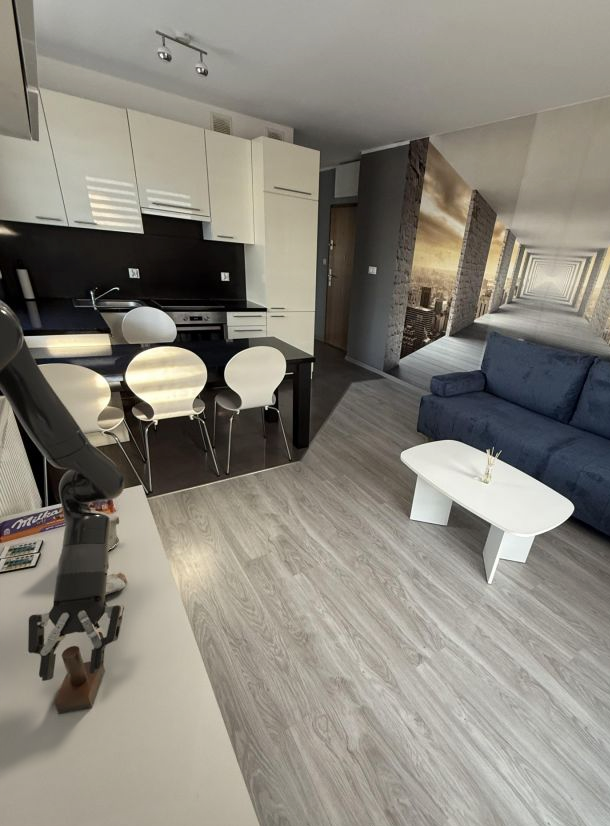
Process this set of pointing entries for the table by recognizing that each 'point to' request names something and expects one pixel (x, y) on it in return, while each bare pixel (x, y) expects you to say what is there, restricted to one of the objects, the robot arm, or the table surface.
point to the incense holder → (111, 529)
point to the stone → (115, 582)
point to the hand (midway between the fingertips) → (71, 675)
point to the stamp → (77, 683)
